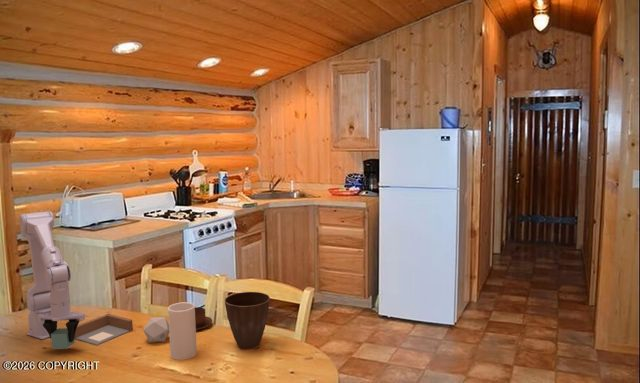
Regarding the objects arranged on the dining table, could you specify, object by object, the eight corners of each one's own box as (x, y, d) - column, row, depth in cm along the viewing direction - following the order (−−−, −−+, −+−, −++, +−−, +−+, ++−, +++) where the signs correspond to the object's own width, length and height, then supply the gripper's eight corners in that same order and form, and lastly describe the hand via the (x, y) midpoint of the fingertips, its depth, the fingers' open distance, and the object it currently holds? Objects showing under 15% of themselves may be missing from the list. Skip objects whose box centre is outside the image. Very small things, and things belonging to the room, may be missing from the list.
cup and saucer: (176, 324, 193) (175, 308, 192) (208, 318, 198) (207, 303, 197) (182, 335, 182) (181, 318, 182) (215, 329, 187) (215, 313, 187)
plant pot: (235, 334, 182) (234, 290, 180) (276, 337, 179) (275, 292, 177) (219, 352, 168) (217, 304, 166) (263, 355, 165) (261, 307, 163)
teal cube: (52, 348, 168) (50, 334, 167) (59, 342, 173) (58, 328, 172) (67, 348, 168) (66, 334, 167) (74, 342, 173) (73, 328, 172)
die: (156, 349, 172) (172, 323, 174) (134, 335, 173) (151, 310, 175) (163, 348, 180) (178, 323, 182) (142, 335, 181) (158, 310, 183)
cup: (201, 350, 169) (199, 303, 167) (187, 361, 162) (185, 312, 160) (180, 347, 172) (177, 301, 170) (165, 357, 164) (162, 309, 162)
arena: (72, 338, 181) (71, 327, 180) (109, 323, 194) (108, 313, 193) (96, 345, 174) (96, 334, 174) (132, 330, 187) (132, 319, 187)
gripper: (31, 306, 164) (34, 346, 166) (76, 305, 164) (79, 346, 166) (42, 298, 171) (46, 337, 173) (86, 298, 171) (89, 337, 173)
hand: (63, 341), depth 170 cm, fingers closed on teal cube, 5 cm apart
